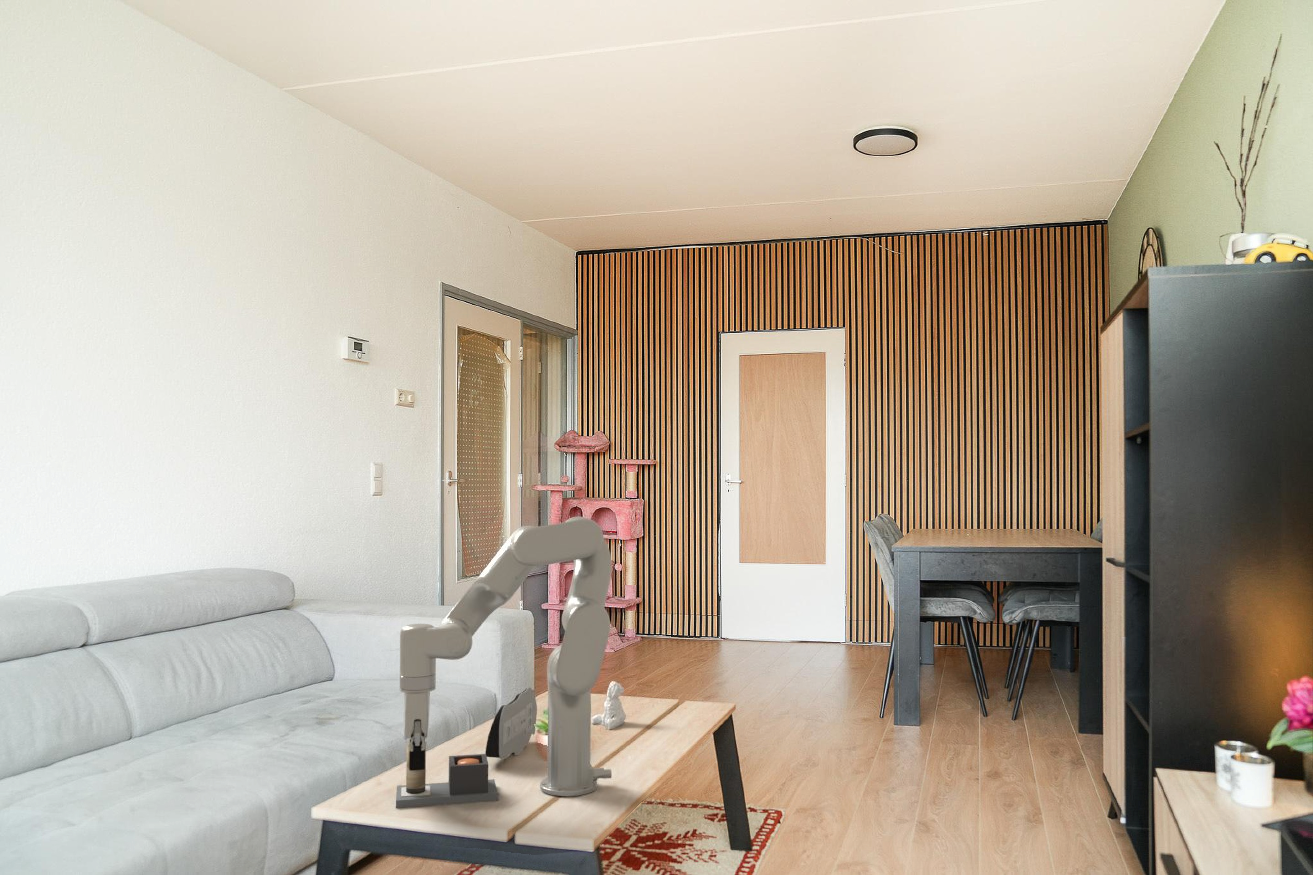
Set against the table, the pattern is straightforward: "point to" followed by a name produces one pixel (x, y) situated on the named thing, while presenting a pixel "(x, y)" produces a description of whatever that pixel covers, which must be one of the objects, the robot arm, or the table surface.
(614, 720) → the white creature statuette
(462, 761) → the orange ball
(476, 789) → the board
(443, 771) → the table surface
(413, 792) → the beige wooden cylinder
